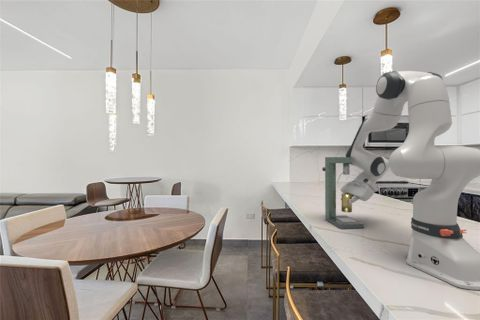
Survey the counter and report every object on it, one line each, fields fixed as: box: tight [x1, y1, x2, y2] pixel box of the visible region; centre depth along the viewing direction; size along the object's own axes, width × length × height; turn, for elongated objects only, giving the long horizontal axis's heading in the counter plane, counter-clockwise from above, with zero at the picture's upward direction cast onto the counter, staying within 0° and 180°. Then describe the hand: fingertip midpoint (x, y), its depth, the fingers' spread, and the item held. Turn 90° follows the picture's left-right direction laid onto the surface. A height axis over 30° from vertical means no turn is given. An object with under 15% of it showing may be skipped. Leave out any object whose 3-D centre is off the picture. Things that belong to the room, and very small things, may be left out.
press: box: [321, 156, 365, 230], centre depth 121 cm, size 22×12×35 cm, turn 5°
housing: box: [340, 192, 353, 213], centre depth 118 cm, size 5×5×9 cm
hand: (345, 201), depth 118 cm, fingers closed on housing, 5 cm apart
